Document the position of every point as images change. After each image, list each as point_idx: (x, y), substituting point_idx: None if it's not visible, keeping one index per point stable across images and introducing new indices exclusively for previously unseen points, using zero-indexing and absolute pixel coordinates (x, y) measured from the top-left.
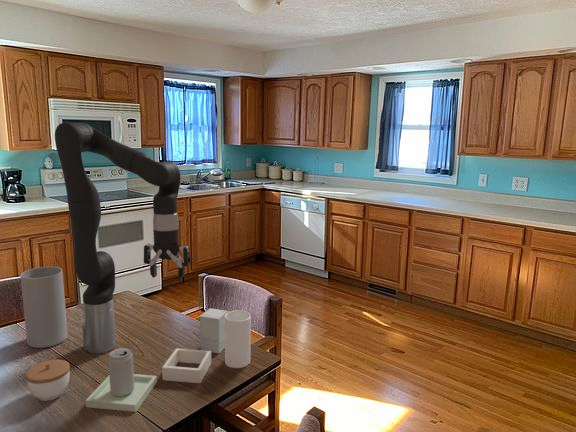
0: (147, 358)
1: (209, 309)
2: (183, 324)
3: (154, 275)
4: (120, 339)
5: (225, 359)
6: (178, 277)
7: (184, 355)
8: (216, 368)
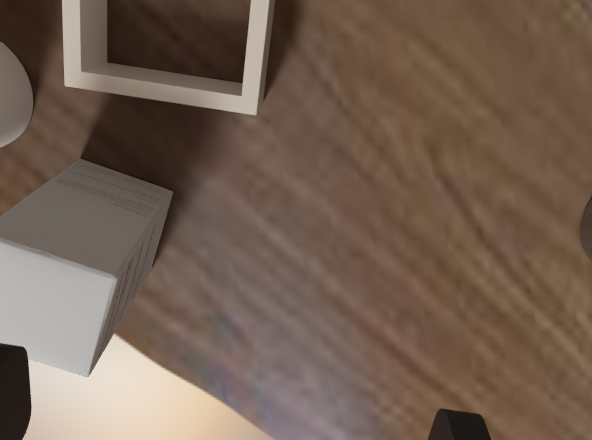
0: (406, 118)
1: (83, 359)
2: (306, 406)
3: (444, 436)
4: (566, 288)
5: (10, 69)
6: (6, 357)
7: (212, 85)
8: (53, 24)
